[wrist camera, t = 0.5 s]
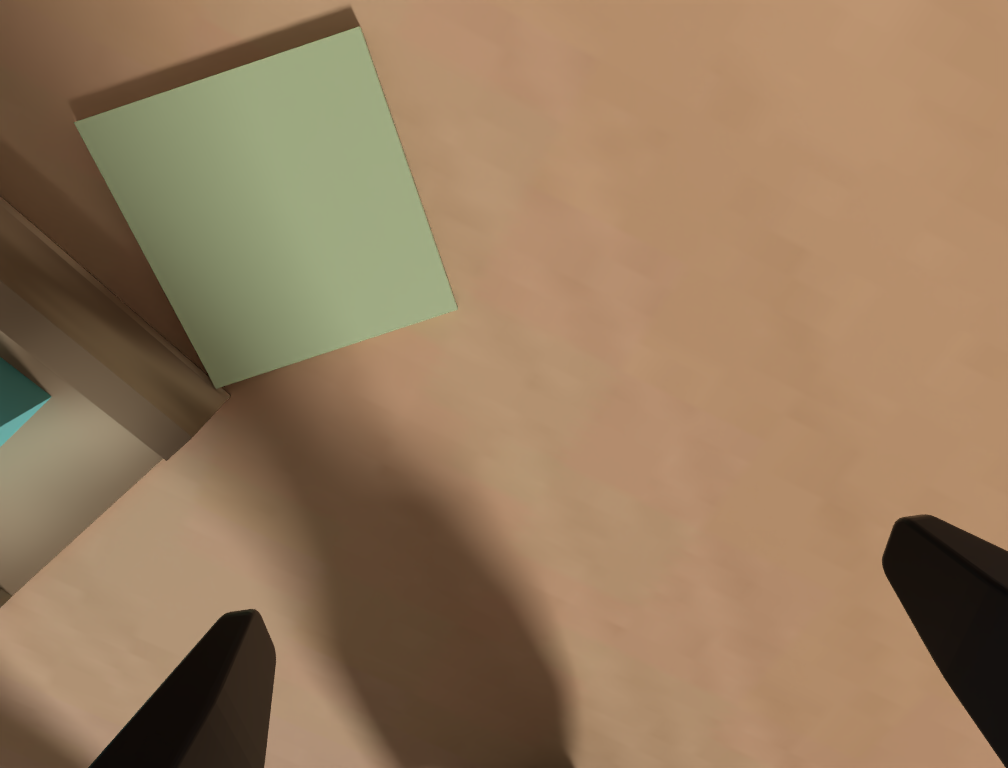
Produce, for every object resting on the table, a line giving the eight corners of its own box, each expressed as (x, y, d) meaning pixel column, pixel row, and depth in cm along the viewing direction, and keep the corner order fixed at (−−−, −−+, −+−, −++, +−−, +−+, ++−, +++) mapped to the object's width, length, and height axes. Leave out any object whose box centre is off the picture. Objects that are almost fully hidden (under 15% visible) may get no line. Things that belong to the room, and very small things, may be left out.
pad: (457, 306, 21) (457, 309, 21) (221, 384, 21) (216, 388, 21) (361, 29, 18) (359, 26, 17) (83, 123, 18) (73, 122, 17)
